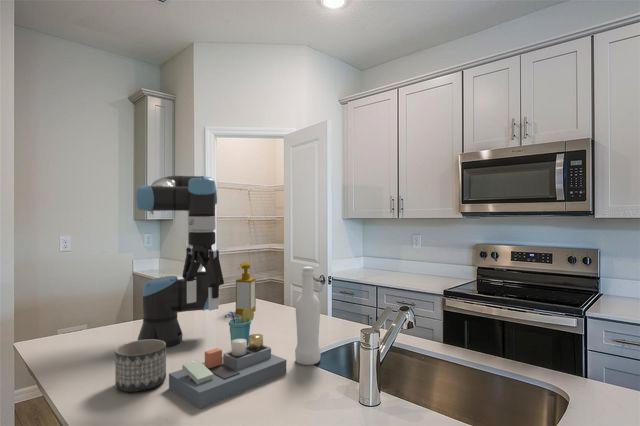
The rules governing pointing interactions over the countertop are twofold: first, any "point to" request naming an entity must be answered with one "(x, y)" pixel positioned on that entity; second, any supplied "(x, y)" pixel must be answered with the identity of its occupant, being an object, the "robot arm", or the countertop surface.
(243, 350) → the button ivory
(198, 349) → the countertop surface
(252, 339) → the button brass
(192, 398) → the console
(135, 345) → the planter
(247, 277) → the soap bottle
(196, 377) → the block
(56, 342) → the countertop surface
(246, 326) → the cup
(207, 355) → the slider knob
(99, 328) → the countertop surface
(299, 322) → the bottle
